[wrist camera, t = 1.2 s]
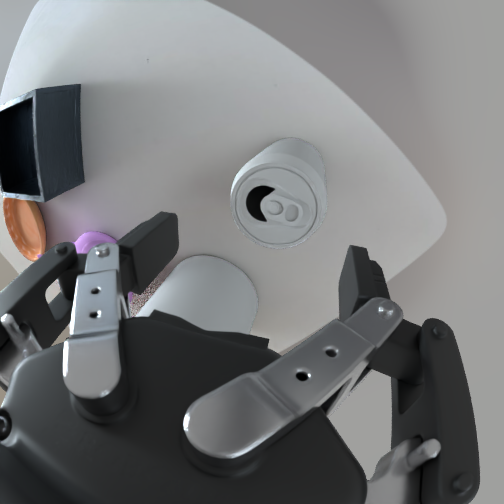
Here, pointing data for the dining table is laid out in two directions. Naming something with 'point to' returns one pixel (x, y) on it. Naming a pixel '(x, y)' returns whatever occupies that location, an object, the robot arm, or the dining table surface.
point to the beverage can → (280, 194)
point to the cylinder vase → (207, 295)
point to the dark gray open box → (41, 144)
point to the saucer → (25, 226)
